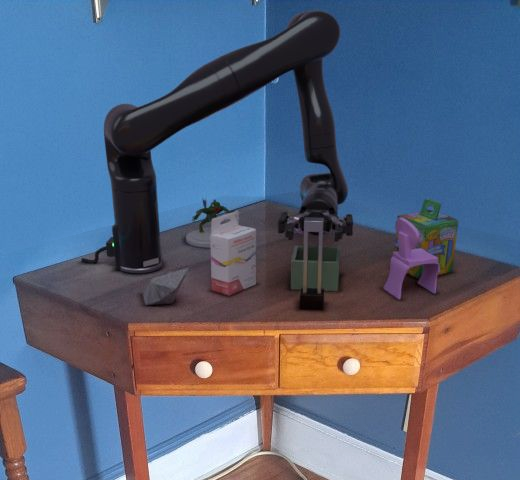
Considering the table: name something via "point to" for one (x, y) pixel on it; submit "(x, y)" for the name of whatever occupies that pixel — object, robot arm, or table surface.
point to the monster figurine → (203, 234)
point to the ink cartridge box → (232, 255)
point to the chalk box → (433, 236)
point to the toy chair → (410, 260)
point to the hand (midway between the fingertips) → (313, 235)
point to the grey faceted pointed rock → (164, 288)
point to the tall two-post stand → (308, 296)
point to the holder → (316, 268)
